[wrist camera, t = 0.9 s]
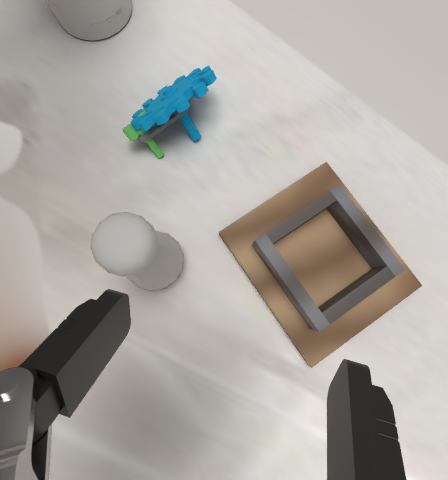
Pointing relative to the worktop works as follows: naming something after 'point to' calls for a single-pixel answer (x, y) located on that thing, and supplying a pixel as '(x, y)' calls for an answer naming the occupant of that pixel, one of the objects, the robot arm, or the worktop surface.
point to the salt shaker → (137, 251)
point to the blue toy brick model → (170, 108)
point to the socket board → (319, 263)
